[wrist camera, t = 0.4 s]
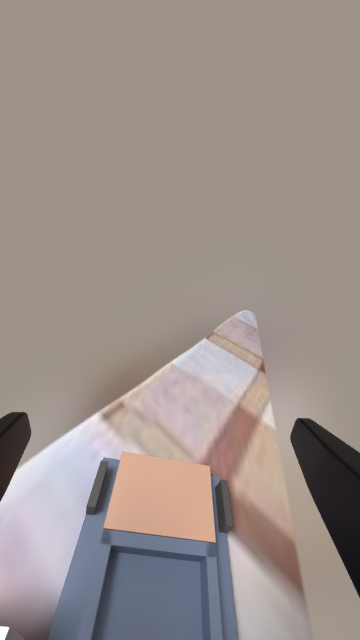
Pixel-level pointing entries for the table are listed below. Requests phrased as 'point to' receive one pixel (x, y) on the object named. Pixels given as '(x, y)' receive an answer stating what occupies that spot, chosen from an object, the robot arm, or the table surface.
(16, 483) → the table surface
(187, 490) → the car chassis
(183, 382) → the table surface
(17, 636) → the grey rectangular block
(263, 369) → the table surface
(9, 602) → the table surface
